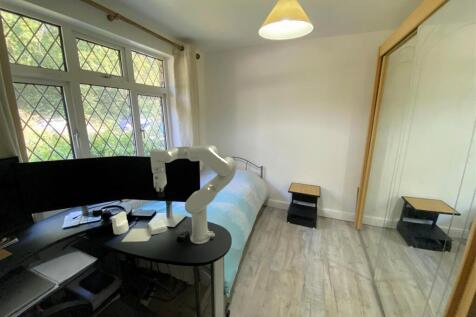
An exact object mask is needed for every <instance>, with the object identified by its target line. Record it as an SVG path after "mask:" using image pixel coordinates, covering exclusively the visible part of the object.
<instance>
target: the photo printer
mask: <svg viewBox="0 0 476 317" xmlns="http://www.w3.org/2000/svg"><path fill="white" fill-rule="evenodd" d="M147 226H148V228H149V229H150V231H151V233H152V235H157V234H162V233H165V232H167V231H168V227H167V225H166V224H165V222H164V219H163V220H161V219H160V220H153V221H150V222H148V225H147Z"/></svg>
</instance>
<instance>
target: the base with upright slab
mask: <svg viewBox="0 0 476 317" xmlns="http://www.w3.org/2000/svg"><path fill="white" fill-rule="evenodd" d="M111 221H112V230H113V234H114V235H122V234H125V233H127V232H128V231H129V228H130V227H129V222H128V219H127V212H126V211H121V212H118V213H117V214H115V215H114V216H112V217H111Z"/></svg>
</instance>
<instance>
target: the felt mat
mask: <svg viewBox="0 0 476 317" xmlns="http://www.w3.org/2000/svg"><path fill="white" fill-rule="evenodd" d="M152 235H153V234H152V233H151V231H150V229H149V227H148V228H147V227H145V228H144V227H143V228H132V229H131V230H130V231H129V232H128V233H127V235H125V237H124V238H123V239H122V240H121V243H132V242H133V243H134V242H135V243H137V242H140V243H141V242H144V243H145V242H148V241H149V240H150V238H151V237H152Z"/></svg>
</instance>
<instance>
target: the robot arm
mask: <svg viewBox="0 0 476 317" xmlns="http://www.w3.org/2000/svg"><path fill="white" fill-rule="evenodd" d="M149 155H150V156H149V157H150V164H151V165H150V166H151V172H152V174H153V175H152V177H153V178H152V179H153V187H154V189H155V190H156V192H157V196H158V197H157V198H160V199H162V198H164V197H165V187H166V185H167V183H168V182H167V174H166V164H167V163H171V162H173V161H175V160H178V159H188V160H189V161H191V162H198V161H199V162H200V161H201V162H202V163H203V164H204V165H205V166H206V167H208V168H209V169H210V170H212V171H213V172H214V173H215V174H216V175H215V176H214V177H212V178H211V179H209V181H208V182H206V183H205V184H203V186H201V188H200V189H199V190H196V191H194V192H193V193H192V194H191V195H190V196H189V197H188V198H187V199H186V201H185V203H184V209H185V211H186V212H187V213H188V214H190V217H191V230H192V234H191V235H190V236H189V238H190V241H191V243H193V244H197V245H200V244H205V243H207V242H209V241H210V238H211V237H215V235H216V234H215V233H214V231H210V229H209V228H208V212H207V211H208V208H207V207H208V206H209V205H210V204H211V203H212V202H213V201H214V200H215V198H216V197H217V195H218V194H219V193H220V192H221V191H222V190H223V189H224V188H226V187H227V186H228V185H229V184H230V183H231V181H233V178H235V174H236V171H237V165H236V161H235V159H234V158H232V157H231V156H224V157H223V158H221V157H220V155H219V151H218V148H217V147H216V146H215V145H211V144H209V145H196V146H195V145H192V146H173V147H169V148H167V149H164V150H163V149H162V148H153V149H151V150H150V151H149ZM165 163H166V164H165Z"/></svg>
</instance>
